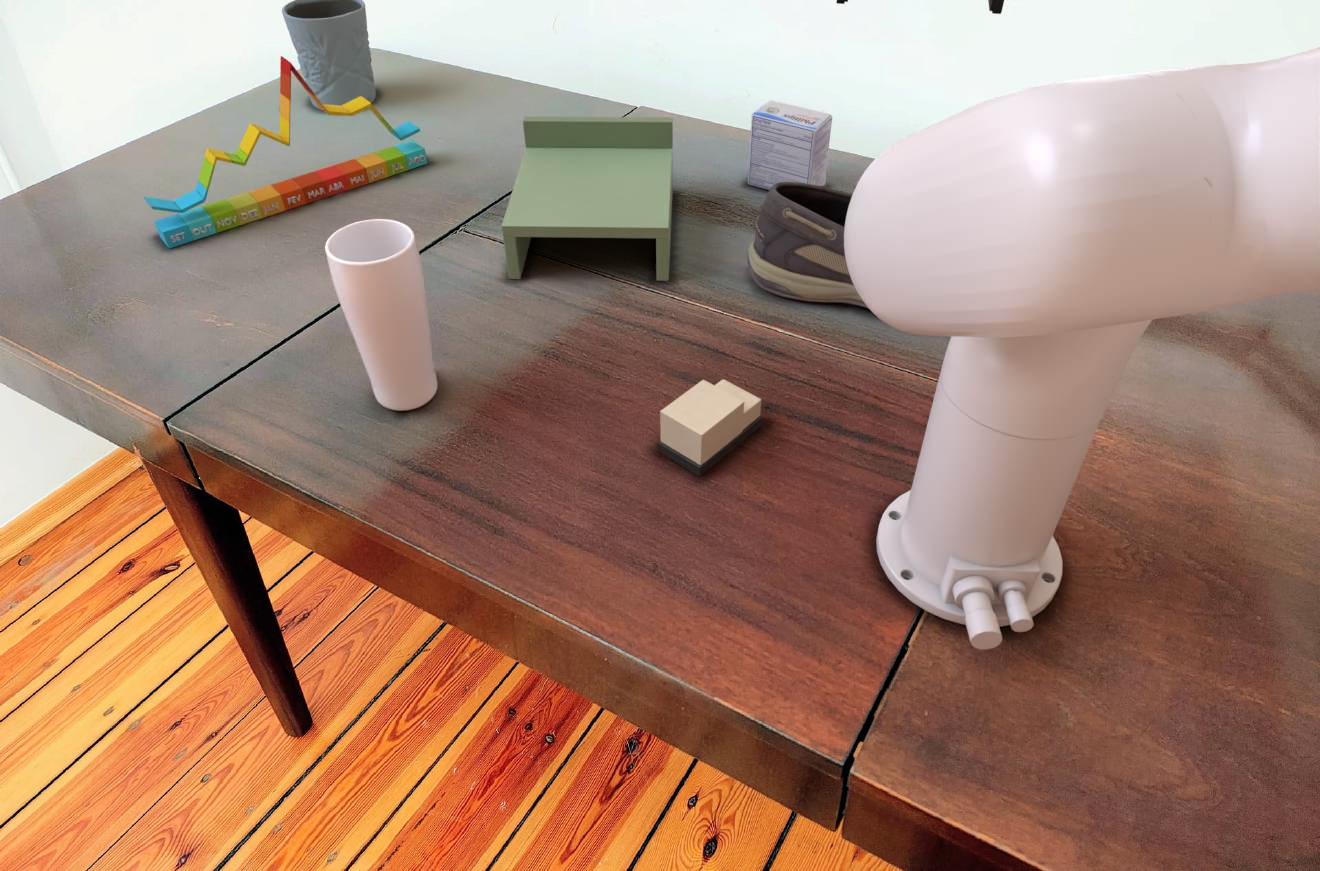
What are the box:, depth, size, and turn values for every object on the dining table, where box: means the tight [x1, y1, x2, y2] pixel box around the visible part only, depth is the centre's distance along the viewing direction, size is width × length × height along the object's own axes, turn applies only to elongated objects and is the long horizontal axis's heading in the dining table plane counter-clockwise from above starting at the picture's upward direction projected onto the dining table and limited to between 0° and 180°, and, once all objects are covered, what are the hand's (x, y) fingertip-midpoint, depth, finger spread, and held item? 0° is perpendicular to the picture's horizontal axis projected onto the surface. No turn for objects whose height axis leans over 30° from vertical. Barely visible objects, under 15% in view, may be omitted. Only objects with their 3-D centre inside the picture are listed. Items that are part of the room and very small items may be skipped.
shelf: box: [501, 116, 674, 282], centre depth 96 cm, size 18×16×9 cm
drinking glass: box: [324, 218, 439, 412], centre depth 75 cm, size 7×7×15 cm
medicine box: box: [747, 100, 833, 191], centre depth 104 cm, size 8×4×9 cm, turn 58°
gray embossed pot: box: [281, 0, 377, 111], centre depth 122 cm, size 10×10×12 cm
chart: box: [143, 55, 428, 249], centre depth 101 cm, size 30×3×15 cm, turn 129°
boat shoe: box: [746, 182, 870, 310], centre depth 87 cm, size 11×29×11 cm, turn 78°
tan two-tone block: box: [657, 378, 764, 477], centre depth 74 cm, size 8×4×4 cm, turn 138°
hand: (917, 2), depth 61 cm, fingers open, 9 cm apart
